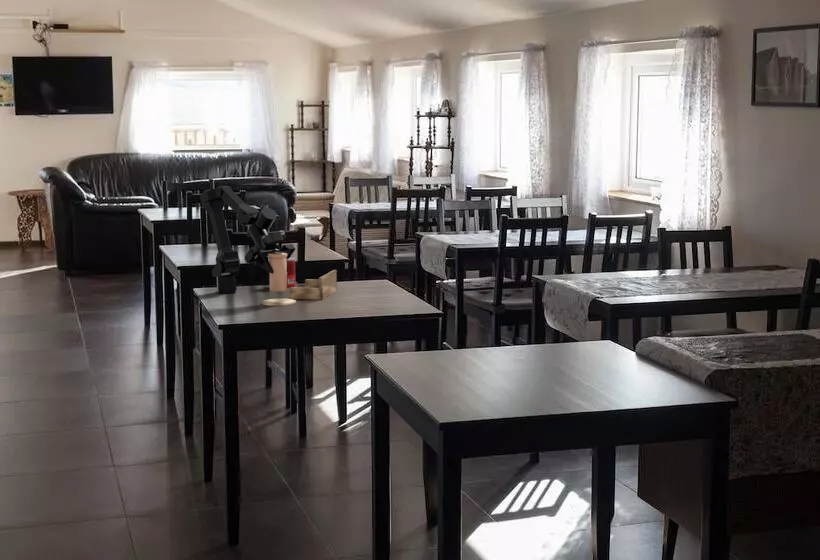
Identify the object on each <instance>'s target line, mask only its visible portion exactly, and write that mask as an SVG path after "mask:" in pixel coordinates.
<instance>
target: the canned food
mask: <svg viewBox="0 0 820 560" xmlns="http://www.w3.org/2000/svg"><path fill="white" fill-rule="evenodd" d="M287 261H288V269H289V270H288V272H287V287H296V257H292V256H291V257H290V258H289V259H287Z"/></svg>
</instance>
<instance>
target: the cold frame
mask: <svg viewBox="0 0 820 560" xmlns="http://www.w3.org/2000/svg"><path fill="white" fill-rule="evenodd" d="M337 272H338V271H337V269H333V270H331V271H328V273H326V274H324V275H322V276H320V277H319V278H318V279H312V278H311V279H308V278H307V279H304V287H299V286H298V287H296V286H295V287H290V288H289V299H293V300H324V299H326V298H327V297H328V296H331V295H332V294H333V293H335V292H337V291H336V290H337V288H338V287H337V285H338V284H337V280H338V279H337Z"/></svg>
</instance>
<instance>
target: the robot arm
mask: <svg viewBox="0 0 820 560" xmlns="http://www.w3.org/2000/svg"><path fill="white" fill-rule="evenodd" d="M199 198H200V202H201V204H202V208H203V209H204V210H205V212H206V213H207V214H208V215H209V219H210V221H211V222H210V223H211V227H212V230H213V236H214V240H215V245H216V248H217V249H216V250H217V253H216V257H215V265H214V267H213V268H212V269H211V275H212V278H213V277H214V278H216V290H215V291H216V292H217V294H219V295H220V294H234V293H235V294H236V292H237V279H235V276H239V273H240V268H241V259H240V257H239V252H238V251H237V250H234V249H233V248H232V247H231V242H230V239H229V238H230V237H229V234H228V233H229V232H228V229H227V225H226V220H225V216H224V212H223V210H224V208H225V204H226V205H227V206H228V207H229V208H230V209H231V210H232V211H233V212H234V213H235V214H236V220H237V221H238V222H239V224H240V225H241V226H243V227H249V228H248V229H247V231H246V237H251V239H252V240H253V242H254V245H253V247H249V248H248V250H247V252H246V254H245V255H244V261H245V262H246V264H253V265H255V266H258V267H260V268H262V269H263V270H265V271H267V272H268V273H269V274H270V273H271V274H273V272H274V271H273V269H272V267H271V265H270V263H269V257H268V253H275V252H283V253H287V257H286V262H287V272H288V270H289V269H288V261H287V259H289V258H290V257H292V255H293V254H294V252H295V250H296V248H295V245H294V244H293V243H287V244H282V245H281V248H279V249H277V248H278V247H279V246H280V244H279V243H281V242H283V241H284V240H285V239H286V238H287V236H286V233H285V231H284V230H282V229H281V230H278V231H273V232H270V233H269V232H268V231H267V230H269V229H270V228H272V225H273V223H274V222H275V221H276V218H277V216H278V214H277V212H276V211H275V210H274V209H272V208H270V207H268V206H267V205H261V207H260V209H258V208H256V207H254V206H252V205H249V204H247V203H246V202H244V201H243V200H242V198H241V197H240V196H239V195H238V194H236V193H235V191H233V189H232V187H231V186H228V185H223V186H222V185H221V186H218V187H216V188H215V187H214V188H213V189H206V190H205V189H204V190H203V191H202V193H200V196H199Z"/></svg>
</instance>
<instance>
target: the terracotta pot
mask: <svg viewBox="0 0 820 560" xmlns="http://www.w3.org/2000/svg"><path fill="white" fill-rule="evenodd" d="M286 257H287V253H283V252H275V253H268V257H267V258H268V261H269V263H270V265H271V267H272V269H273V271H274V272H273V274H271V273H270V272H269V291H270V292H285V291H286V292H287V290H288V288H287V262H286Z"/></svg>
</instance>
